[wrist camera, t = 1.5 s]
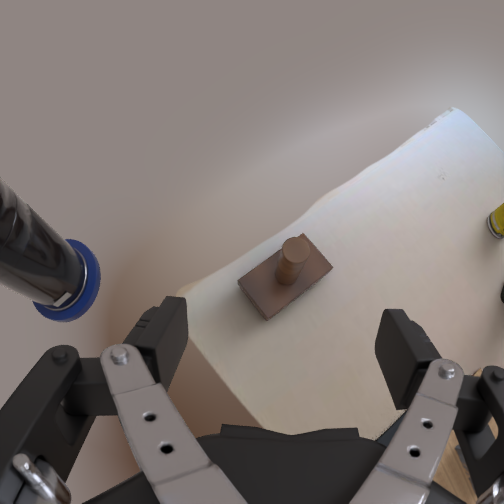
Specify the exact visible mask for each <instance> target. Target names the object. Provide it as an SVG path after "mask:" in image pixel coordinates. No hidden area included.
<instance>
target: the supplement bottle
mask: <svg viewBox="0 0 504 504" xmlns="http://www.w3.org/2000/svg"><path fill="white" fill-rule="evenodd" d="M488 226H489V228H490V230H491V232H492V233H493V235H494V236H496V237H497V238H503V237H504V203H503V204H502V205H501V206H500V207H498V208H497V209H496V210H495V211H493V212H492V213H491V214H490V215H489V217H488Z"/></svg>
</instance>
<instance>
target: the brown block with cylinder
mask: <svg viewBox="0 0 504 504" xmlns="http://www.w3.org/2000/svg"><path fill="white" fill-rule="evenodd" d="M332 268H333V266H332V265H331V264H330V263H329V262H328V261H327V259H326V258H325V257H324V256H323V255H322V254H321V253H320V251H319V250H318V249H317V248H316V247H315V246H314V245H313V243H312V242H311V241H310V240H309V239H308V238H307V237H306V235H305V234H304V233H302V234H301V235H300V236H298V237H292V238H289V239H287V240H286V241H285V242H284V244H283V246H282V249H280V250H279V251H278V252H276V253H275V254H274V255H272V256H271V257H269V258H268V259H267V260H265V261H264V262H262V263H261V264H260V265H258V266H257V267H256V268H254V269H253V270H251V271H250V272H249V273H247V274H246V275H244V276H243V277H242V278H240V279H239V280H238V285H239V286H240V288H241V289H242V290H243V291H244V293H245V294H246V295H247V297H248V298H249V299H250V300H251V302H252V303H253V304H254V305H255V307H256V308H257V309H258V310H259V312H260V313H261V314H262V315H263V317H264V318H265V319H266V321H268V320H269V319H271V318H272V317H273V316H275V315H276V314H277V313H278V312H280V311H281V310H282V309H284V308H285V307H286V306H288V305H289V304H290V303H291V302H293V301H294V300H295V299H296V298H298V297H299V296H300V295H302V294H303V293H304V292H305V291H307V290H308V289H309V288H310V287H312V286H313V285H314V284H315V283H317V282H318V281H319V280H320V279H321V278H323V277H324V276H325V275H326V274H328V273H329V272H330V271H331V270H332Z"/></svg>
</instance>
